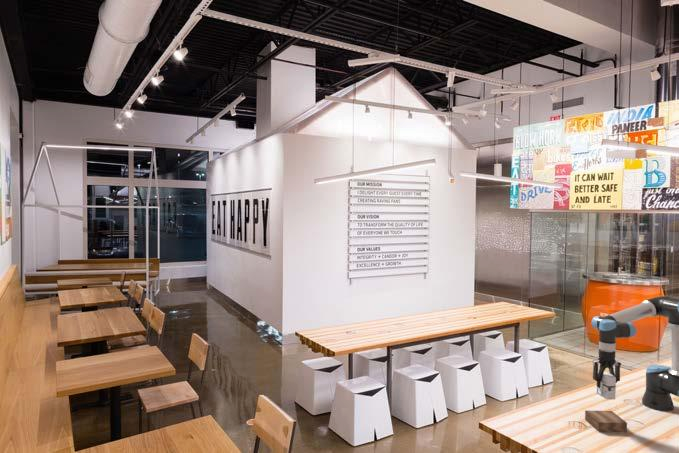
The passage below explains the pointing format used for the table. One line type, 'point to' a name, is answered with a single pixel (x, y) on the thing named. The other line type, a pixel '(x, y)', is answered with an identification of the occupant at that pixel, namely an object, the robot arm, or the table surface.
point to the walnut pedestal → (605, 421)
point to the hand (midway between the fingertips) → (605, 393)
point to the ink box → (608, 386)
